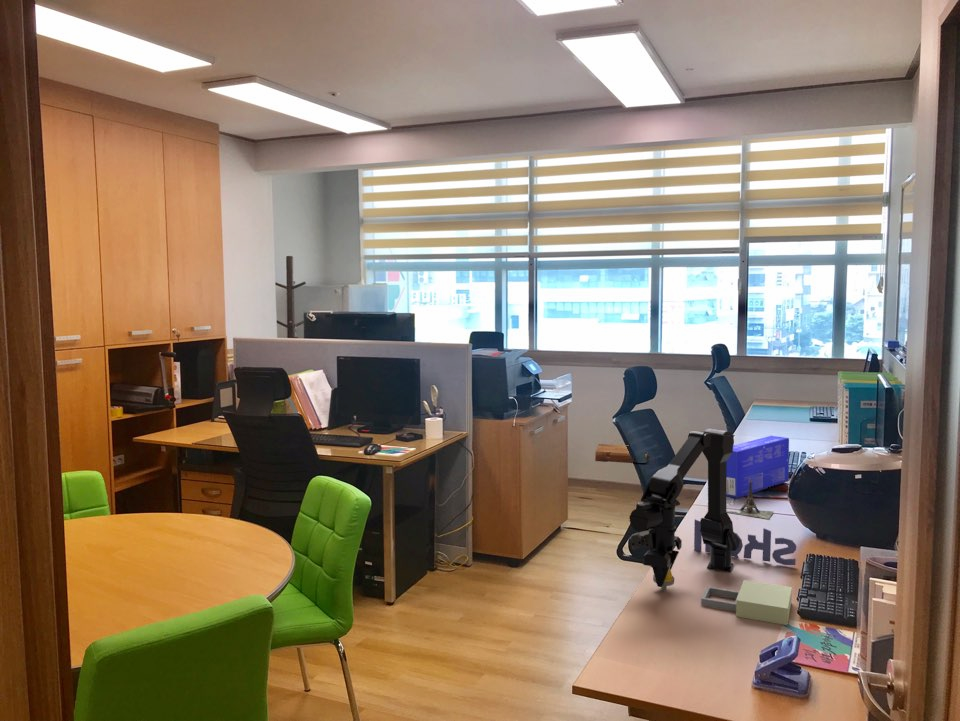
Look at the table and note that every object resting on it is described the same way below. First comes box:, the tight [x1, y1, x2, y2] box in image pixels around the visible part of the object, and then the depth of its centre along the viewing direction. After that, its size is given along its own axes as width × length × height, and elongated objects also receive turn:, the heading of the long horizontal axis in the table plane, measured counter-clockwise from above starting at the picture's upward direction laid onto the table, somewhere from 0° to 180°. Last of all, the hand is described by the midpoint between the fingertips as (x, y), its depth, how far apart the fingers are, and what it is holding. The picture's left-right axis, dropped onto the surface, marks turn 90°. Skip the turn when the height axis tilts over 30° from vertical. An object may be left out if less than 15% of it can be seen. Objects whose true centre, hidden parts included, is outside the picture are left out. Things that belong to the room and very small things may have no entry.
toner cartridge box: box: [726, 435, 790, 499], centre depth 295 cm, size 39×8×18 cm, turn 129°
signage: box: [693, 518, 797, 566], centre depth 217 cm, size 28×1×10 cm, turn 62°
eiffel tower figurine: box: [727, 479, 774, 520], centre depth 263 cm, size 15×10×13 cm
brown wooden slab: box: [594, 443, 648, 464], centre depth 347 cm, size 23×19×6 cm
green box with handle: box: [700, 579, 793, 626], centre depth 184 cm, size 14×20×4 cm
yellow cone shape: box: [652, 568, 675, 591], centre depth 193 cm, size 5×5×10 cm
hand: (662, 582), depth 194 cm, fingers closed on yellow cone shape, 5 cm apart
